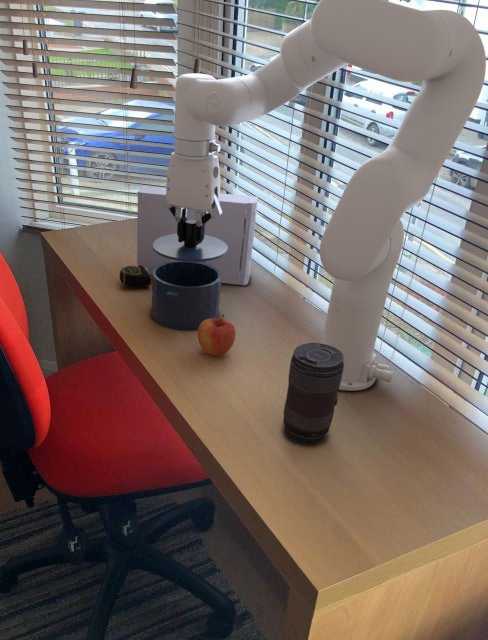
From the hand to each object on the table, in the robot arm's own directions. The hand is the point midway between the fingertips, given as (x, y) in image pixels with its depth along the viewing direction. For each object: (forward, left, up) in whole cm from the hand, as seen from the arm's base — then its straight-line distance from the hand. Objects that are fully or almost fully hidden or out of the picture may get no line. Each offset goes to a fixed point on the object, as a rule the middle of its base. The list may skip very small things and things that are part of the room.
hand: (190, 241), depth 132 cm
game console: (+8, -20, -17) cm, 27 cm away
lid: (0, 0, -1) cm, 1 cm away
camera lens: (-37, +28, -17) cm, 49 cm away
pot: (0, 0, -17) cm, 17 cm away
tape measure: (+17, -8, -17) cm, 26 cm away
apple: (-13, +12, -17) cm, 24 cm away
